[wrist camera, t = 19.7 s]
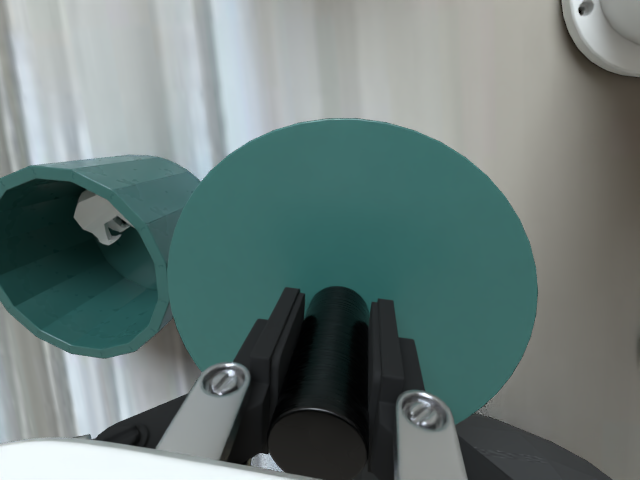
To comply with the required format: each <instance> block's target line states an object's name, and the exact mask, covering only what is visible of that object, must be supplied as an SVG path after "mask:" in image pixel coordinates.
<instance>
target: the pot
mask: <svg viewBox="0 0 640 480" xmlns="http://www.w3.org/2000/svg"><path fill="white" fill-rule="evenodd" d="M200 183H201V182H200V181H199V180H198V179H197V178H196V177H195V176H194V175H193V174H191V173H190V172H189V171H188V170H186V169H185V168H183V167H181V166H180V165H178V164H176V163H174V162H171V161H169V160H166V159H163V158H160V157H155V156H148V155H124V156H114V157H105V158H96V159H87V160H78V161H68V162H59V163H50V164H41V165H31V166H28V167H26V168H23V169H21V170H19V171H16V172H14V173H11V174H9V175H7V176H4V177H2V178H0V301H1V302H2V304H3V305H4V307H5V309H6V310H7V311H8V312H9V313H10V314H11V315H12V316H13V317H14V318H16V319H17V320H18V321H19V322H20V323H21V324H22V325H24V326H25V327H26V328H27V329H28V330H29V331H30V332H31V333H33V334H34V335H35V336H36V337H38V338H40V339H42V340H44V341H46V342H48V343H50V344H52V345H54V346H56V347H58V348H60V349H62V350H64V351H66V352H69V353H71V354H76V355H83V356H90V357H97V358H103V359H104V358H105V359H106V358H110V357H114V356H119V355H123V354H127V353H131V352H135V351H137V350H138V349H139V348H140V347H141V346H143V345H144V344H145V343H146V342H147V341H149V340H150V339H151V338H152V337H153V336H154V335H156V334H157V333H158V332H159V331H160V330H161V329H162V328H163V327H164V326H165V325H166V324H167V323H168V322H169V321H170V320H171V319H172V318H173V314H172V311H171V306H170V300H169V294H168V279H167V267H168V258H169V249H170V245H171V241H172V237H173V233H174V229H175V227H176V224H177V222H178V220H179V217H180V215H181V213H182V210H183V208H184V206H185V205H186V203H187V201H188V200H189V198H190V196H191V195H192V193H193V192H194V190H195V189H196V187H197V186H198V185H199V184H200ZM85 190H89V191H91V192H93V193H94V194H96V195H98V196H100V197H102V198H104V199H106V200H108V201H109V202H110V203H111V204H112V205H113V206H114V207H115V208H116V209H117V210H118V211H119V212H120V213H121V214H122V215H123V216H124V217H125V218H126V219H127V220H128V221H129V222H130V223H131V224H132V225H133V226H134V227H135V228H134V227H132V226H131V225H130V227H128V228H127V229H125V230H124V231H122V232H119V231H115V230H112V229H111V228H109V227H108V229H109V231H110V234H111V235H112V236H117V235H121V236H120V237H119V239H118V240H117V241H115V242H114V243H112V244H110V245H109V246H108V245H105V244H102V243H100V242H99V240H98V238H97V237H96V236H95V235H94V234H92V233H91V232H88V231H86V230H83V229H82V227H81V226H80V225H79V224H78V222H77V221H76V220H75V218H74V213H75V210H76V206H77V203H78V199H79V197H80V195H81V193H82V192H84V191H85ZM117 217H118V216H117ZM118 218H119V219H120V220H122V219H121V218H120V217H118ZM122 223H124V224H126V222H125V221H124V220H122Z"/></svg>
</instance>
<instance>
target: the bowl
mask: <svg viewBox="0 0 640 480" xmlns="http://www.w3.org/2000/svg"><path fill="white" fill-rule="evenodd" d="M455 427H456V431H457V434H458V435H459V436H460V437H461V438H463V439H464V440H465V441H466V442H468V443H469V444H470V445H471V446H473V447H474V448H475V449H476V450H477V451H479V452H480V453H481V454H482V455H484V456H485V457H486V458H487V459H489V460H490V461H491V462H492V463H493V464H495V465H496V466H497V467H498V468H500V469H501V470H502V471H503V472H505V473H506V474H507V475H508V476H509V477H511V478H512V479H513V480H612V479H611V478H610V477H608V476H607V475H606V474H604V473H603V472H601V471H600V470H599V469H597V468H596V467H595V466H593V465H592V464H591V463H589V462H588V461H587V460H585V459H583V458H581V457H579V456H577V455H575V454H573V453H572V452H570V451H568V450H566V449H564V448H562V447H560V446H559V445H557V444H555V443H553V442H551V441H548V440H546V439H543V438H541V437H538V436H536V435H534V434H531V433H529V432H526V431H524V430H521V429H519V428H516V427H514V426H511V425H509V424H506V423H504V422H502V421H499V420H497V419H493V418H490V417H486V416H482V415H479V414H472V415H470V416H469V417H468V418H466V419H465V420H463V421H461V422H459V423H458V424H456V425H455ZM285 473H286V472H285ZM352 480H379V479H378V478H377V477H376V476H375V475H374V474H373V473H370V472H368V461H367V463H366V465H365V467H364V469H363V470H362V472H361V473H360V474H359V475H357V476H356V477H355V478H353V479H352Z"/></svg>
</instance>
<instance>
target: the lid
mask: <svg viewBox="0 0 640 480" xmlns="http://www.w3.org/2000/svg"><path fill="white" fill-rule="evenodd" d="M167 279H168V294H169V300H170V306H171V311H172V314H173V317H174V321H175V324H176V327H177V330H178V332H179V334H180V336H181V339H182V341H183V343H184V345H185V347H186V349H187V351H188V352H189V354H190V356H191V357H192V359H193V361H194V362H195V364H196V365H197V367H198V368H199V369H200V370H201V372H203V371H204V370H206V369H207V368H208V367H210V366H212V365H215V364H217V363H221V362H233V360H234V358H235V357H236V355H237V353H238V351H239V350H240V348H241V346H242V344H243V343H244V341H245V339H246V338H247V336H248V334H249V332H250V331H251V329H252V327H253V325H254V324H255V322H256V320H257V319H267V320H268V319H269V317H270V315H271V313H272V311H273V309H274V308H275V306H276V304H277V302H278V300H279V298H280V296H281V294H282V292H283V290H284V288H285V287H290V288H298V289H300V293H305V311H304V322H303V325H302V329H301V332H300V335H299V338H298V341H297V344H296V347H295V350H294V353H293V356H292V359H291V362H290V365H289V368H288V371H287V374H286V377H285V380H284V383H283V386H282V389H281V392H280V395H279V398H278V401H277V404H276V407H275V410H274V413H273V416H272V419H271V422H270V426H269V429H268V432H267V446H268V450H269V453H270V455H271V457H272V459H273V460H274V461H275V463H276V464H277V465H278V466H279V467H280V468H281V469H282V470H283V471H284V472H286V473H290V474H296V475H301V476H306V477H312V478H317V479H322V480H352V479H353V478H355V477H356V476H357V475H359V474H360V473H361V472H362V470H363V469H364V467H365V465H366V463H367V461H368V457H369V414H368V325H369V317H370V309H371V303H372V302H377V300H378V298H380V299H388V300H393V301H394V308H395V316H396V323H397V330H398V337H401V338H408V339H413V340H414V341H415V345H416V350H417V355H418V359H419V364H420V369H421V373H422V378H423V383H424V387H425V391H426V392H430V393H431V394H433V395H435V396H437V397H439V398H440V399H441V400H442V401H444V402H445V403H446V405H447V406H448V407H449V408H450V410H451V413H452V415H453V419H454V423H455V425H456V424H458V423H459V422H461V421H463V420H465V419H466V418H468V417H469V416H470V415H472V414H473V413H475V412H476V411H477V410H479V409H480V408H482V407H483V406H484V405H485V404H486V403H487V402H488V401H489V400H490V399H491V398H492V397H493V396H494V395H495V394H497V393H498V391H499V390H500V389H501V388H502V386H503V385H504V384H505V383H506V382H507V380H508V379H509V378H510V377H511V375H512V374H513V372H514V370H515V369H516V367H517V365H518V364H519V362H520V360H521V359H522V357H523V354H524V352H525V349H526V347H527V345H528V342H529V340H530V337H531V334H532V329H533V325H534V321H535V317H536V309H537V296H538V287H537V275H536V266H535V262H534V258H533V254H532V250H531V246H530V242H529V240H528V237H527V235H526V233H525V230H524V228H523V226H522V223H521V221H520V219H519V217H518V216H517V214H516V213H515V211H514V209H513V208H512V206H511V205H510V203H509V201H508V200H507V198H506V197H505V196H504V194H503V193H502V192H501V191H500V190H499V189H498V188H497V186H496V185H495V184H494V183H493V182H492V181H491V179H490V178H489V177H488V176H487V175H486V174H485V173H483V172H482V171H481V170H480V169H479V168H478V167H476V166H475V165H474V164H473V163H472V162H470V161H469V160H468V159H467V158H466V157H464V156H463V155H461V154H459V153H458V152H456V151H455V150H453V149H451V148H450V147H448V146H447V145H445V144H443V143H442V142H440V141H437V140H435V139H433V138H431V137H428V136H426V135H424V134H422V133H419V132H417V131H415V130H412V129H408V128H404V127H401V126H397V125H394V124H390V123H387V122H380V121H373V120H365V119H358V118H328V119H321V120H314V121H307V122H300V123H297V124H293V125H290V126H286V127H283V128H280V129H276V130H273V131H271V132H269V133H267V134H264V135H262V136H260V137H258V138H256V139H254V140H251V141H249V142H248V143H246V144H245V145H243V146H242V147H240V148H238V149H237V150H235V151H234V152H232V153H231V154H229V155H228V156H227V157H226V158H224V159H223V160H222V161H221V162H220V163H219V164H218V165H217V166H215V167H214V168H213V169H212V170H211V171H210V172H209V173H208V174H207V175H206V177H205V178H204V179H203V180H202V181H201V183H200V184H199V185H198V186H197V187H196V189H195V190H194V192H193V193H192V195H191V196H190V198H189V200H188V201H187V203H186V205H185V206H184V208H183V210H182V213H181V215H180V217H179V220H178V222H177V224H176V227H175V229H174V233H173V237H172V241H171V245H170V249H169V258H168V267H167Z"/></svg>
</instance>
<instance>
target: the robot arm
mask: <svg viewBox="0 0 640 480" xmlns="http://www.w3.org/2000/svg"><path fill="white" fill-rule="evenodd" d="M562 8H563V16H564V19H565V22H566V25H567V29H568V32H569V34H570V36H571V37H572V39H573V41H574V42H575V44H576V46H577V48H578V49H579V50H580V51H581V52H582V53H583V54H584V55H585V56H586V57H587V58H588V59H589V60H590V61H591V62H593V63H595V64H596V65H598V66H600V67H601V68H603V69H605V70H607V71H610V72H613V73H616V74H620V75H624V76H634V77H640V0H562ZM578 9H580V10H581V15H580V14H579V12H578ZM304 311H305V293H300V289H298V288H290V287H285V288H284V290H283V292H282V294H281V296H280V298H279V300H278V302H277V304H276V306H275V308H274V309H273V311H272V313H271V315H270V317H269V319H268V320H267V319H257V320H256V322H255V324H254V325H253V327H252V329H251V331H250V332H249V334H248V336H247V338H246V339H245V341H244V343H243V344H242V346H241V348H240V350H239V351H238V353H237V355H236V357H235V358H234V360H233V362H221V363H217V364H215V365H212V366H210V367H208V368H207V369H206V370H204V371H203V372H202V373H201V375H200V376H199V377H198V379H197V380H196V382H195V384H194V385H193V387H192V389H191V390H190V392H189V393H188V394H186V395H183V396H181V397H179V398H176V399H174V400H171V401H169V402H167V403H164V404H162V405H159V406H157V407H154V408H152V409H150V410H147V411H145V412H142V413H140V414H138V415H135V416H133V417H130V418H128V419H126V420H123V421H121V422H118V423H116V424H114V425H112V426H111V427H109V428H107V429H106V430H105V431H103V432H102V433H101V434H99V435H98V436H97V438H95V439H91V435H90V434H89V435H84V436H78V437H73V438H60V437H50V438H33V439H23V440H17V441H11V442H5V443H0V480H322V479H317V478H312V477H306V476H301V475H296V474H290V473H285V472H279V471H274V470H268V469H263V468H257V467H252V466H251V459H252V457H254V456H255V455H257V454H259V453H264V454H268V453H269V450H268V446H267V432H268V429H269V426H270V422H271V419H272V416H273V413H274V410H275V407H276V404H277V401H278V398H279V395H280V392H281V389H282V386H283V383H284V380H285V377H286V374H287V371H288V368H289V365H290V362H291V359H292V356H293V353H294V350H295V347H296V344H297V341H298V338H299V335H300V332H301V329H302V325H303V322H304ZM368 414H369V457H368V472H370V473H373V474H374V475H375V476H376V477H377V478H378V479H379V480H513V479H512V478H511V477H509V476H508V475H507V474H506V473H505V472H503V471H502V470H501V469H500V468H498V467H497V466H496V465H495V464H493V463H492V462H491V461H490V460H489V459H487V458H486V457H485V456H484V455H482V454H481V453H480V452H479V451H477V450H476V449H475V448H474V447H473V446H471V445H470V444H469V443H468V442H466V441H465V440H464V439H463V438H461V437H460V436H459V435H458V434H457V431H456V427H455V423H454V419H453V415H452V413H451V410H450V408H449V407H448V406H447V405H446V403H445V402H444V401H442V400H441V399H440V398H439V397H437V396H435V395H433V394H431V393H430V392H426V391H425V387H424V383H423V378H422V373H421V369H420V364H419V359H418V355H417V350H416V345H415V341H414V340H413V339H408V338H401V337H398V330H397V323H396V316H395V308H394V301H393V300H388V299H380V298H378V300H377V302H372V303H371V309H370V317H369V325H368Z"/></svg>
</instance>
